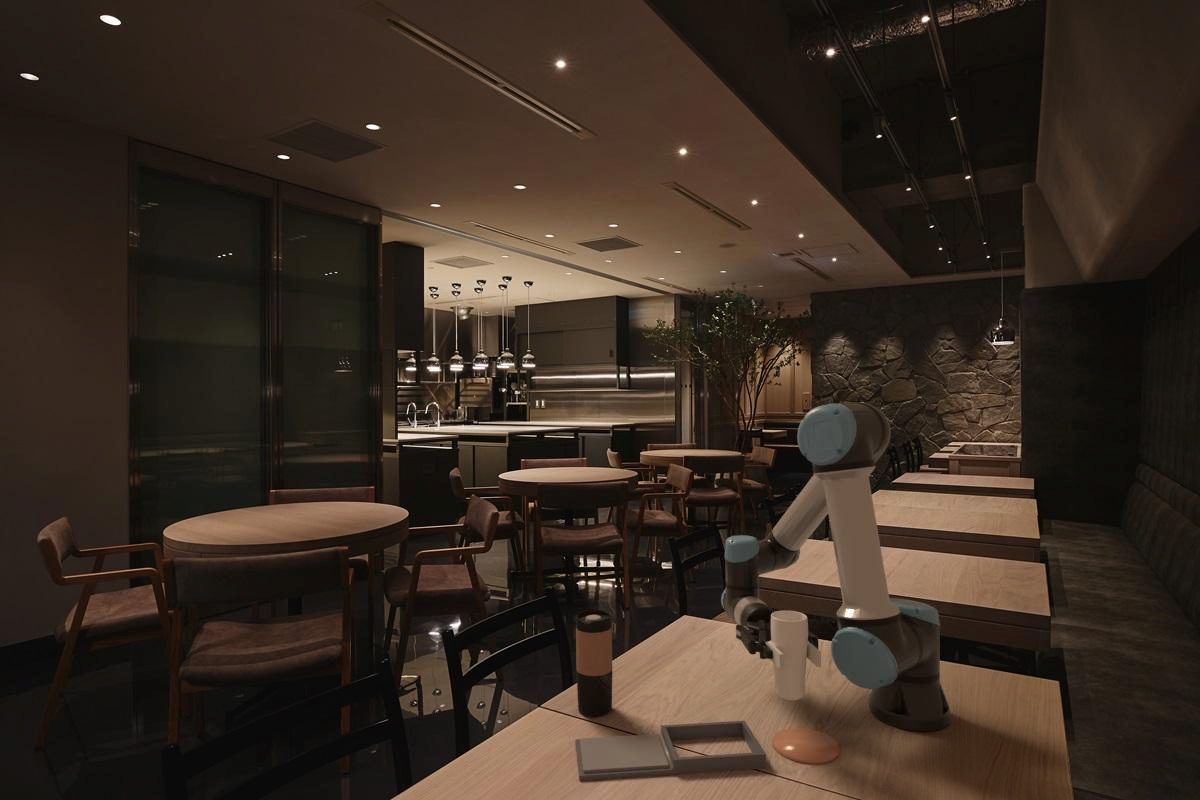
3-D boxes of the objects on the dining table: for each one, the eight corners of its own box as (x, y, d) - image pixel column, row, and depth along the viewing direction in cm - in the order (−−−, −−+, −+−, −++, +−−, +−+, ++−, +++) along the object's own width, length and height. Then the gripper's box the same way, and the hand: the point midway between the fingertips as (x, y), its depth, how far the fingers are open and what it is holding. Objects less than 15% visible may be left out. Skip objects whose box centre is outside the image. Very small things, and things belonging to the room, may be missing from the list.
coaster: (823, 729, 134) (822, 726, 134) (850, 761, 122) (850, 758, 122) (763, 732, 133) (763, 729, 133) (785, 766, 121) (785, 762, 121)
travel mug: (605, 698, 149) (603, 607, 149) (618, 713, 142) (617, 618, 142) (572, 705, 147) (570, 612, 146) (584, 720, 139) (582, 623, 139)
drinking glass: (764, 695, 128) (763, 616, 128) (782, 684, 133) (781, 607, 133) (797, 706, 123) (796, 624, 123) (815, 694, 128) (814, 615, 128)
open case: (744, 733, 133) (744, 720, 133) (766, 768, 121) (766, 754, 121) (575, 743, 130) (575, 730, 130) (579, 780, 118) (579, 766, 118)
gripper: (800, 634, 147) (851, 677, 124) (713, 639, 145) (749, 684, 122) (799, 599, 147) (850, 636, 124) (712, 604, 145) (748, 643, 122)
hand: (800, 660), depth 123 cm, fingers closed on drinking glass, 6 cm apart
